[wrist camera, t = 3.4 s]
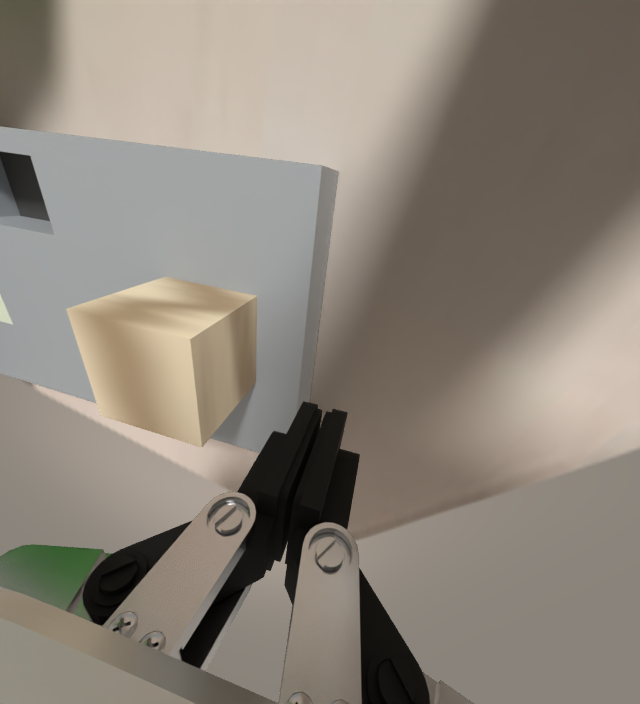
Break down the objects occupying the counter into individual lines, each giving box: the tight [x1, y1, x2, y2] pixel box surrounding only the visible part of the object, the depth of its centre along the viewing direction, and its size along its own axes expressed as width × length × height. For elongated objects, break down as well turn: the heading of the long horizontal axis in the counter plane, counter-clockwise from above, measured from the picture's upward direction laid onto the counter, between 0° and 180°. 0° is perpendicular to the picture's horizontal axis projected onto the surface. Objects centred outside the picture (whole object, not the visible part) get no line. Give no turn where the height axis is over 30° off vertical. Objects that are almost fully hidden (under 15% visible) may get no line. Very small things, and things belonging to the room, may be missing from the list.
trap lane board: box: [0, 126, 338, 453], centre depth 17 cm, size 26×16×7 cm, turn 83°
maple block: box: [66, 277, 257, 447], centre depth 13 cm, size 5×5×5 cm
